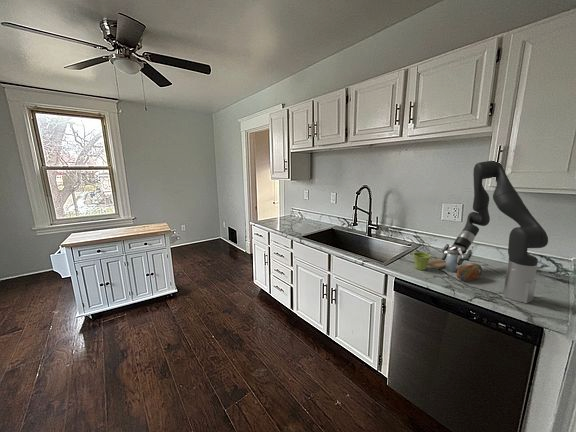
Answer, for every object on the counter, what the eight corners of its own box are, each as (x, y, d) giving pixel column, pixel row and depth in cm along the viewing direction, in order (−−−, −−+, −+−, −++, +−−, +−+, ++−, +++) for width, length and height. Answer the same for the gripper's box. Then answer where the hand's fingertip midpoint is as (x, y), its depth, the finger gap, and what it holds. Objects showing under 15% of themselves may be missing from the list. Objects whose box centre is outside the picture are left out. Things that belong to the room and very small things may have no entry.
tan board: (452, 265, 148) (452, 263, 147) (439, 269, 143) (439, 267, 142) (436, 260, 156) (436, 258, 156) (423, 263, 152) (424, 261, 151)
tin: (460, 282, 126) (461, 267, 125) (454, 279, 129) (456, 265, 128) (481, 278, 130) (483, 263, 128) (475, 275, 133) (477, 261, 131)
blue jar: (458, 271, 139) (460, 251, 137) (452, 273, 137) (454, 253, 135) (448, 267, 144) (450, 248, 142) (442, 269, 142) (444, 250, 140)
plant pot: (411, 270, 143) (413, 256, 141) (411, 264, 151) (412, 251, 149) (430, 272, 139) (431, 258, 137) (428, 266, 147) (430, 253, 145)
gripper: (449, 233, 146) (435, 254, 144) (475, 239, 134) (461, 262, 131) (454, 240, 150) (440, 261, 147) (480, 247, 137) (465, 269, 134)
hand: (450, 262), depth 139 cm, fingers open, 8 cm apart
